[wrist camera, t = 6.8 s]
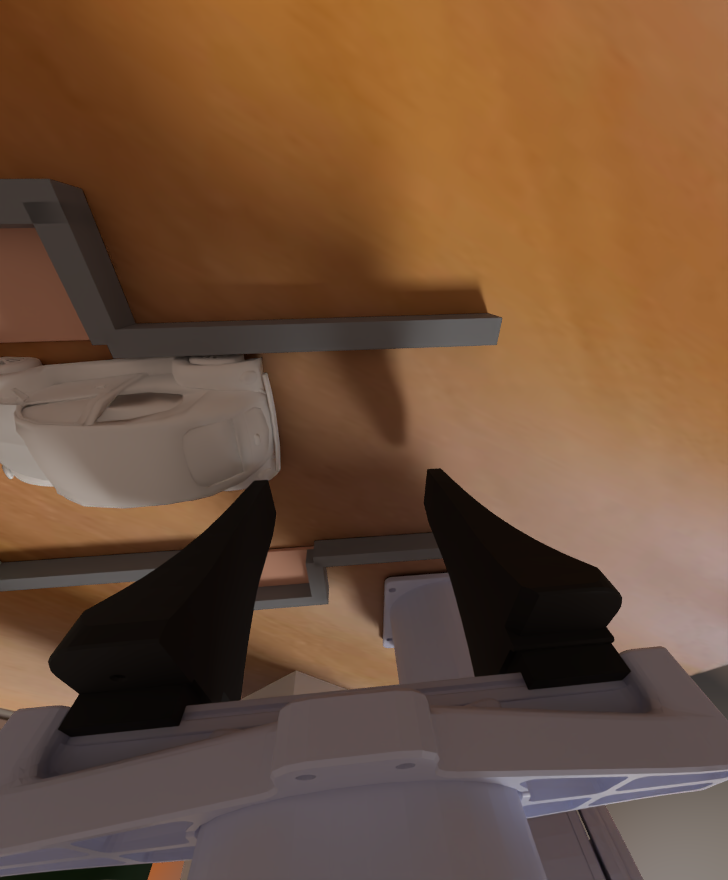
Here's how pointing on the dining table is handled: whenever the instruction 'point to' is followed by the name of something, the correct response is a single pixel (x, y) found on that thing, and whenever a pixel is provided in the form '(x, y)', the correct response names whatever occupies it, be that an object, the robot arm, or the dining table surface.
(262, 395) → the car
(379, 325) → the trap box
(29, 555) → the dining table surface
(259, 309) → the dining table surface
